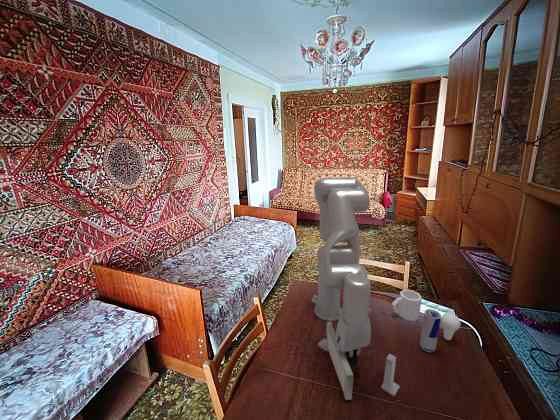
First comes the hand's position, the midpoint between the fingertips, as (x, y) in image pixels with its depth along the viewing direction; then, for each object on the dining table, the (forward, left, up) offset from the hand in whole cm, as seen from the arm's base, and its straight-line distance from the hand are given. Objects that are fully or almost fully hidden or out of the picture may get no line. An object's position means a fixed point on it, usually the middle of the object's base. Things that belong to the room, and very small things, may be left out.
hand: (351, 363), depth 83 cm
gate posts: (-1, +5, -5) cm, 7 cm away
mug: (+1, +43, -5) cm, 43 cm away
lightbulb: (+18, +40, -5) cm, 44 cm away
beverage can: (+14, +30, -5) cm, 33 cm away
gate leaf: (-3, -2, -4) cm, 6 cm away
